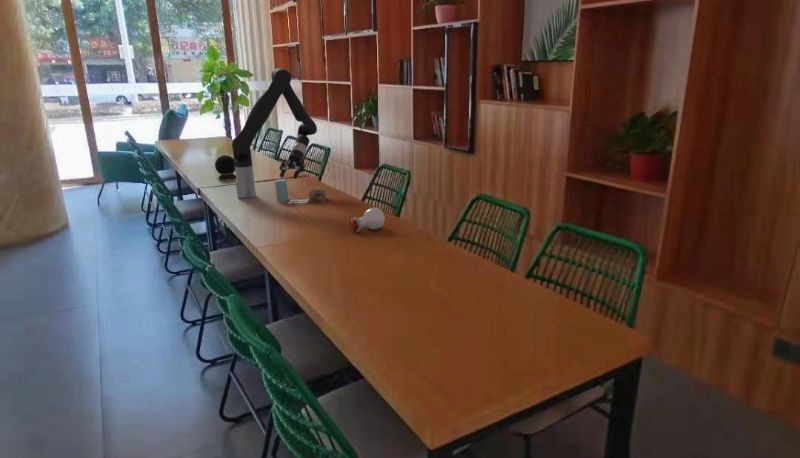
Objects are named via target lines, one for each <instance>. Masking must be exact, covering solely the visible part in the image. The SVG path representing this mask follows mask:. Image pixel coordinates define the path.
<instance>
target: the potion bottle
mask: <svg viewBox="0 0 800 458" xmlns="http://www.w3.org/2000/svg"><path fill="white" fill-rule="evenodd" d="M385 216H386V215H385V214H384V212H383V211H382V210H381V209H380V208H378V207H369V208H368V209H366V210H365V212H364V213H363V216H362V217H361V216H360V217H357V216H353V218H352V219H351V218H349V227H350V229H351V230H352V232H353V233H355V232H356V231H357V232H358V233H359V232H360V231H361V229H363V228H365V227H366V228H368V229H370V230H371V231H372V230H373V231H374V230H375V231H376V230H379V229H380V228H382V227H383V225H384V224H385Z"/></svg>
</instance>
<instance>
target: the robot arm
mask: <svg viewBox="0 0 800 458" xmlns="http://www.w3.org/2000/svg"><path fill="white" fill-rule="evenodd" d="M271 80H272V81H271V83H270V84H269V86H268V88H267V89H266V91H265V92H264V93H263V94H262V95H261V96H260V97H259V98H258V99H257V100H256V102H255V103H254V105H253V106H252V108H251V110H250V112H249V114H248V117H247V118H246V122H245V124H244V126H243V128H242V129H241V130H240V132H239V133H238V135H237V136H235V137H234V138H233V139H232V142H231V147H232V148H231V149H232V154H233V155H232V156H233V159H234V164H235V171H234V172H235V176H236V178H235V179H236V180H235V188H236V194H237V195H236V196H237V198H238V199H251V198H254V197H256V196H257V194H256V192H257V191H256V184H255V178H254V177H255V176H254V169H253V161H252V160H253V158H252V152H251V151H252V150H251V147H252V144H253V141H254V139H255V137H256V136H257V134H258V133H259V132H260V130H261V129H262V128H263V126H264V125H265V123H266V122H267V120H268V119H269V117H270V115H271V114H272V112H273V110H274V108H275V107H276V105H277V103H278V101H279V99H280V98H281V95H282V96H283V97H284V99H285V101H286V104H287V105H288V107H289V109H290V111H291V113H292V115H293V118H295V121H297V122H299V123H301V124H300V125H299V126H298V128H297V137H296V139H295V142H294V144H293V146H292V148H291V150H290V153H289V156H288V159H287V160H286V159H283V160H282V161H281V163H280V166H279V167H278V168H279V170H280V173H279V177H280V178H281V179H283V178H284V177H285V174H286V172H287V171H290V170H295V171H294V173H293V176H292V177H293V178H294V179H297V178H298V177H299V174H300V173H304V171H305V167H306V165H307V163H306V162H305V161H304V157H305V156H306V154H307V153H306V152H307V150H308V147H309V145H310V144H309V143H310V138H309V137H308V136H313V135H316V133H317V132H318V127H317V124H316V123H315V121H314V120H313V118H312V117H311V116H310V115H309V114H308V113H307V111H306V109H305V106H304V105H303V103H302V102H301V100H300V99H299V96H297V94H296V92H295V90H294V89H293V88H292V85H291V82H292V75H291V73H290V71H288V70H287V69H285V68H282V67H277V68H274V69H272V71H271Z"/></svg>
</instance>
